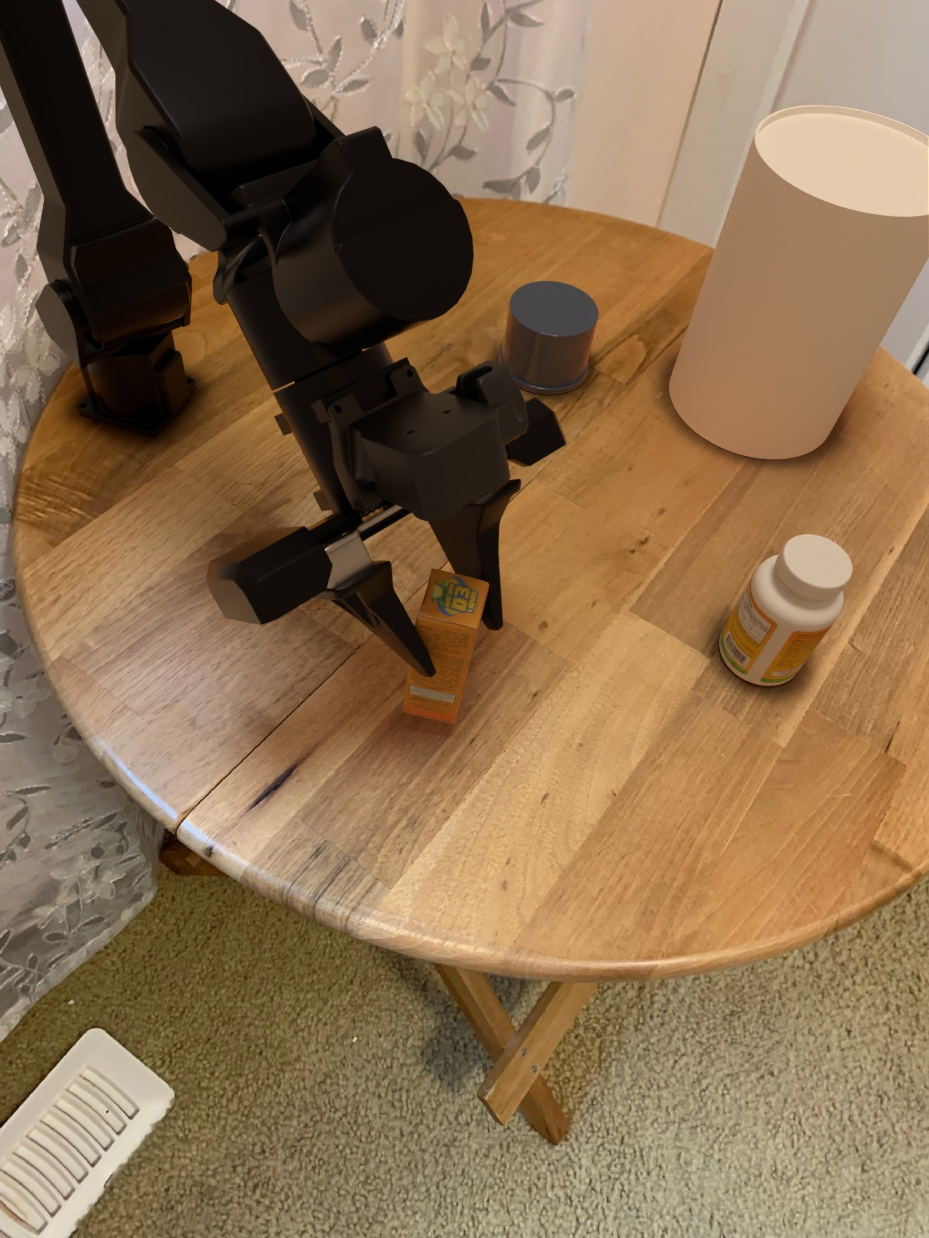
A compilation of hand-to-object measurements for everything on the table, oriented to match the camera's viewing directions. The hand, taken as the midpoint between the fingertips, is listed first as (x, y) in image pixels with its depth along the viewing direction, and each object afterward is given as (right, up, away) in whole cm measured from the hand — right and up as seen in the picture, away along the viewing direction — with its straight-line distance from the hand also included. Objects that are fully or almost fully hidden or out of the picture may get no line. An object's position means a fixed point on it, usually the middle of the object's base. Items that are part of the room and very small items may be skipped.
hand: (463, 652), depth 46 cm
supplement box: (-2, -3, +6) cm, 7 cm away
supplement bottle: (+19, -1, +12) cm, 23 cm away
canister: (+23, +20, +27) cm, 41 cm away
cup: (+6, +23, +27) cm, 36 cm away
